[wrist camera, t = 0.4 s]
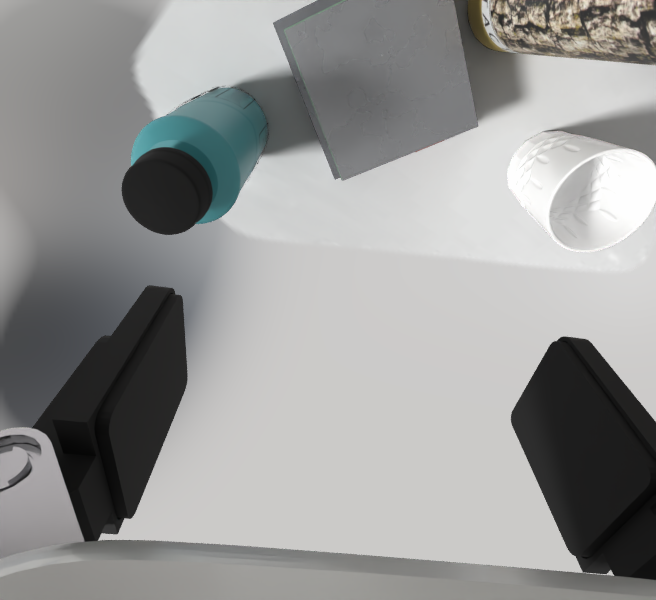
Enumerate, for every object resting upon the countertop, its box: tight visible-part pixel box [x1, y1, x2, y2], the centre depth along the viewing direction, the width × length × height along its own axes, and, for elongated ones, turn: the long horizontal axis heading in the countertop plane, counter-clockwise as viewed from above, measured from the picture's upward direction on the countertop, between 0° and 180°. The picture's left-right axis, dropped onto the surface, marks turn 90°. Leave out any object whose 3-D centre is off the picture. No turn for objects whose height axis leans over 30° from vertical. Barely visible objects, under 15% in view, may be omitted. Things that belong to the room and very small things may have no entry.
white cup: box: [507, 131, 656, 252], centre depth 35 cm, size 8×8×10 cm
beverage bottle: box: [122, 86, 269, 235], centre depth 28 cm, size 6×7×20 cm
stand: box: [273, 0, 478, 180], centre depth 32 cm, size 13×13×6 cm
